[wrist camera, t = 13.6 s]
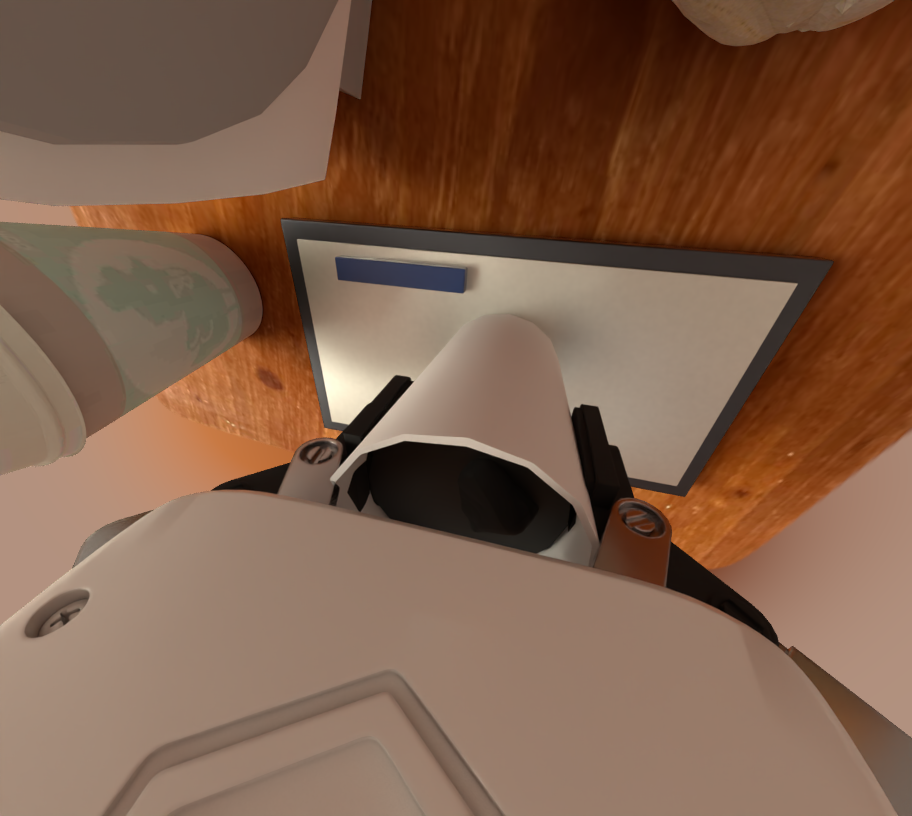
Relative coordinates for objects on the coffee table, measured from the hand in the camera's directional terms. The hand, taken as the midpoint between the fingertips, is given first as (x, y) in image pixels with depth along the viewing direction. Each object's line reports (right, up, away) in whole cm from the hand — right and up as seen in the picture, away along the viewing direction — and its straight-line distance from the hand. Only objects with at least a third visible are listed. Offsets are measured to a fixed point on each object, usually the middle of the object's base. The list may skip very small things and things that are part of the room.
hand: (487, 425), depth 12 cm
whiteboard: (+1, +3, +5) cm, 6 cm away
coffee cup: (-15, +8, +7) cm, 18 cm away
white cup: (+1, +3, +4) cm, 5 cm away
